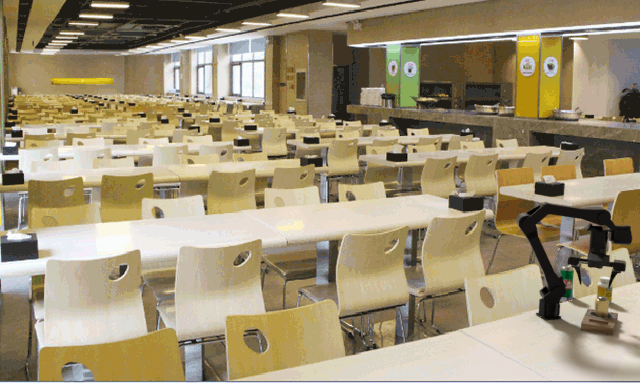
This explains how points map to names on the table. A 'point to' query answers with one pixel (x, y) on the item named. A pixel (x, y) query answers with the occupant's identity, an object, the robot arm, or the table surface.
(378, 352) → the table surface
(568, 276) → the soda can
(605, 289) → the supplement bottle
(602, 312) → the tan salt shaker
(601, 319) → the socket block
